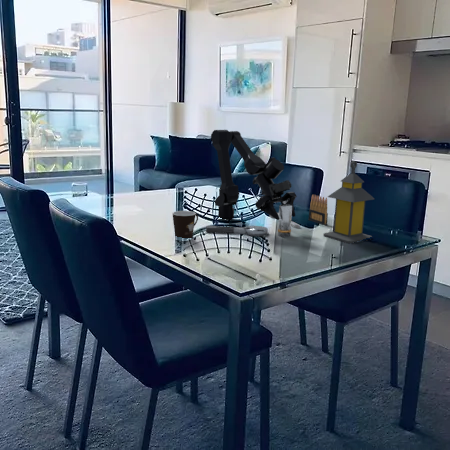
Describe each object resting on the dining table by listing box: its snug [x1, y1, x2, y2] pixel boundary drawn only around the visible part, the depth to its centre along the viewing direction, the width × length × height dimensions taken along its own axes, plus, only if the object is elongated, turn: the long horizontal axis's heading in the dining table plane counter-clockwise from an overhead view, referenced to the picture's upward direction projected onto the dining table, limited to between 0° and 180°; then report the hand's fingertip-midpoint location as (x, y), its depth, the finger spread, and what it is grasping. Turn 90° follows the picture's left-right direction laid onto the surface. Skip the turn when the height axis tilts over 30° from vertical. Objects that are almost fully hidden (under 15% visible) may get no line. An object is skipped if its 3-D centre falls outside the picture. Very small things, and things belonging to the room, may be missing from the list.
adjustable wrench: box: [269, 212, 301, 229], centre depth 219 cm, size 25×6×2 cm, turn 15°
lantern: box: [323, 160, 375, 244], centre depth 192 cm, size 14×14×30 cm
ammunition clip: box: [308, 194, 329, 226], centre depth 218 cm, size 11×2×12 cm, turn 30°
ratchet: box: [205, 225, 269, 237], centre depth 197 cm, size 24×9×2 cm, turn 86°
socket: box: [277, 204, 293, 238], centre depth 194 cm, size 5×5×12 cm
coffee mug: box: [172, 210, 199, 239], centre depth 186 cm, size 12×9×10 cm
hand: (286, 217), depth 193 cm, fingers open, 9 cm apart
